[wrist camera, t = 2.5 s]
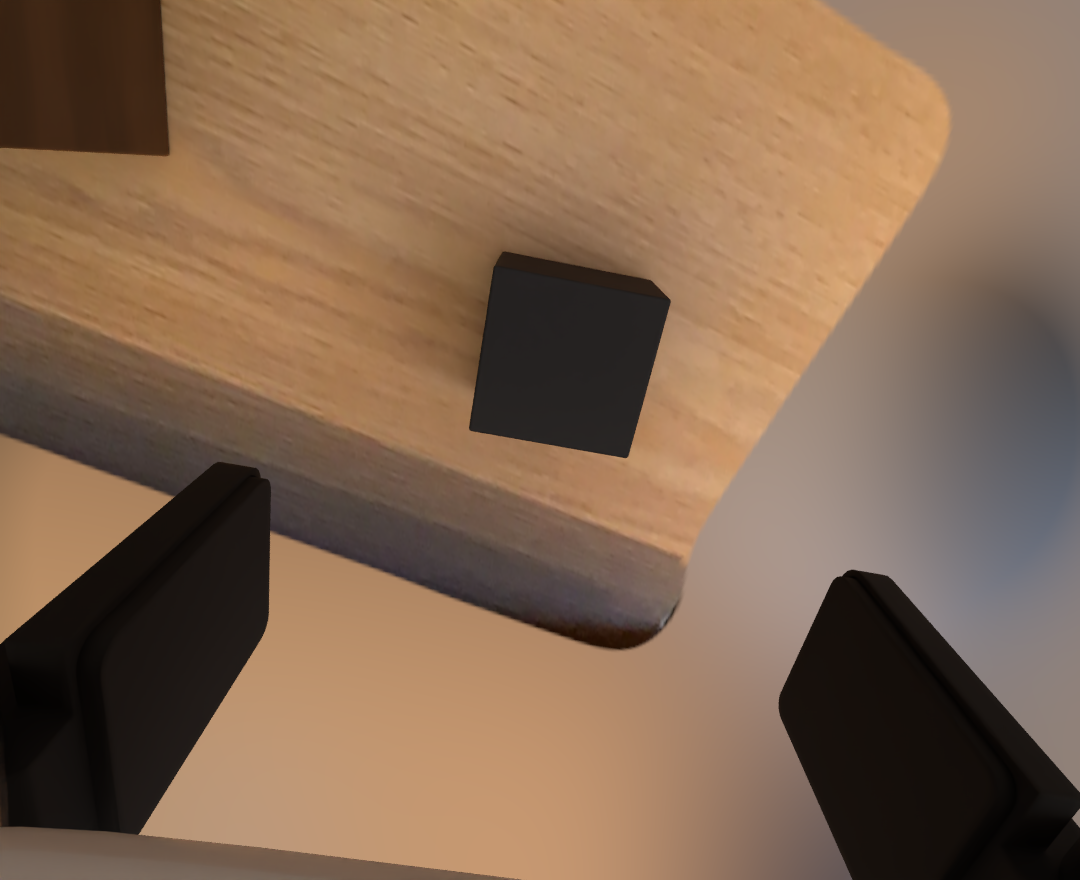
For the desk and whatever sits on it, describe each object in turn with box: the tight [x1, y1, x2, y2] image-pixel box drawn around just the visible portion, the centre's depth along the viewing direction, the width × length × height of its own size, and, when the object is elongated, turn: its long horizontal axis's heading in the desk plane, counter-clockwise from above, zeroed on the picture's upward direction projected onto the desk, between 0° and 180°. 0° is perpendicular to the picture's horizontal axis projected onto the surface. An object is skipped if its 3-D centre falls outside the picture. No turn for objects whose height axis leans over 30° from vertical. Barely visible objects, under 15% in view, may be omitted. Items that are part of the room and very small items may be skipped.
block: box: [469, 252, 671, 458], centre depth 23 cm, size 6×6×4 cm
